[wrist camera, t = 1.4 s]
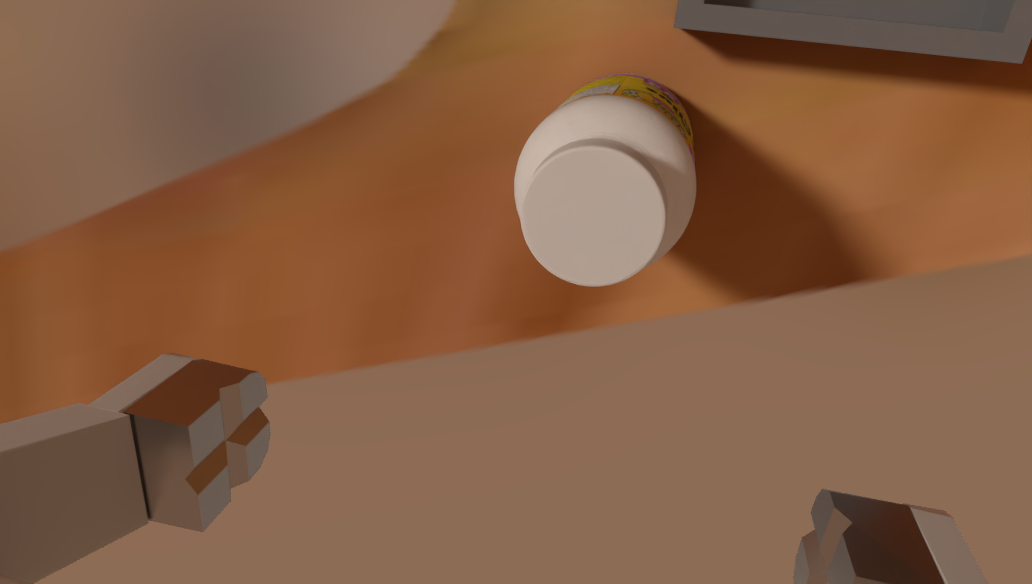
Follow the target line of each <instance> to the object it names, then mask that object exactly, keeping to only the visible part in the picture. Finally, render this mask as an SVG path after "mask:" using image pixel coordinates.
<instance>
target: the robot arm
mask: <svg viewBox="0 0 1032 584" xmlns="http://www.w3.org/2000/svg"><path fill="white" fill-rule="evenodd" d="M266 398H267V389H266V380H265V378H264V377H263V376H262V375H261V374H260V373H259V372H256V371H252V370H247V369H243V368H239V367H234V366H230V365H226V364H221V363H217V362H213V361H208V360H204V359H198V358H194V357H190V356H185V355H180V354H175V353H171V354H163V355H161V356H160V357H158V358H157V359H155V360H154V361H152V362H151V363H149V364H148V365H146V366H145V367H144V368H142V369H141V370H139V371H138V372H136V373H135V374H133V375H132V376H130V377H129V378H127V379H126V380H124V381H123V382H121V383H120V384H118V385H117V386H116V387H114V388H113V389H111V390H110V391H108V392H107V393H105V394H104V395H102V396H101V397H99V398H98V399H96V400H95V401H93V402H92V403H90V404H89V405H83V404H79V403H78V404H74V405H71V406H67V407H63V408H59V409H56V410H52V411H48V412H44V413H41V414H37V415H33V416H29V417H26V418H22V419H18V420H15V421H11V422H7V423H3V424H0V584H33V583H35V582H37V581H39V580H41V579H43V578H45V577H46V576H48V575H50V574H52V573H54V572H56V571H58V570H60V569H62V568H64V567H66V566H67V565H69V564H71V563H73V562H75V561H77V560H79V559H81V558H83V557H85V556H87V555H88V554H91V553H92V552H94V551H96V550H98V549H100V548H102V547H104V546H106V545H108V544H110V543H112V542H114V541H116V540H117V539H119V538H121V537H123V536H125V535H127V534H129V533H131V532H133V531H135V530H137V529H138V528H140V527H142V526H144V525H146V524H148V523H149V522H148V520H150V521H154V522H160V523H164V524H168V525H173V526H177V527H182V528H187V529H191V530H196V531H200V532H203V531H204V530H205V529H206V528H207V527H208V526H209V525H210V524H211V523H212V521H213V520H214V519H215V518H216V517H217V516H218V515H219V514H220V513H221V511H222V510H223V509H224V508H225V507H226V506H227V505H228V504H229V502H230V501H231V488H233V487H235V486H238V485H240V484H242V483H245V482H247V481H249V480H250V479H251V478H252V476H253V475H254V474H255V473H256V472H257V470H259V468H260V467H261V464H262V462H263V460H264V458H265V455H266V453H267V451H268V446H269V440H270V423H269V420H268V419H267V417H266V416H265V415H264V413H263V412H262V410H261V409H260V408H259V407H260V406H261V404H262V403H263V402H264V401H265V400H266ZM811 515H812V519H813V523H814V527H815V530H813V531H812V532H810V533H809V534H807V535H806V536H804V537H802V539H801V542H800V545H799V549H798V552H797V555H796V561H795V569H794V577H793V578H794V584H988V582H987V580H986V579H985V577H984V575H983V573H982V571H981V569H980V567H979V565H978V564H977V562H976V560H975V558H974V556H973V554H972V552H971V551H970V549H969V547H968V545H967V543H966V542H965V539H964V538H963V536H962V534H961V532H960V530H959V529H958V526H957V525H956V523H955V521H954V519H953V518H952V516H951V515H949V514H948V513H947V512H945V511H943V510H937V509H931V508H926V507H920V506H914V505H909V504H898V503H893V502H887V501H882V500H877V499H872V498H867V497H862V496H856V495H852V494H847V493H841V492H836V491H831V490H826V489H822V490H821V491H820V492H819V494H818V495H817V497H816V499H815V502H814V504H813V507H812V510H811Z"/></svg>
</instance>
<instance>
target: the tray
mask: <svg viewBox="0 0 1032 584" xmlns="http://www.w3.org/2000/svg"><path fill="white" fill-rule="evenodd" d="M674 28H681V29H691V30H700V31H710V32H720V33H729V34H739V35H749V36H758V37H768V38H778V39H787V40H797V41H806V42H816V43H826V44H835V45H845V46H855V47H864V48H874V49H884V50H893V51H903V52H912V53H922V54H932V55H941V56H951V57H961V58H970V59H980V60H990V61H999V62H1009V63H1019V64H1022V62H1023V60H1024V57H1025V55H1026V52H1027V49H1028V47H1029V44H1030V42H1031V39H1032V0H679V1H678V6H677V12H676V18H675V24H674Z"/></svg>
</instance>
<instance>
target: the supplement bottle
mask: <svg viewBox="0 0 1032 584" xmlns="http://www.w3.org/2000/svg"><path fill="white" fill-rule="evenodd" d="M514 192H515V202H516V207H517V211H518V214H519V217H520V220H521V227H522V231H523V234H524V238H525V241H526V243H527V245H528V247H529V249H530V250H531V252H532V254H533V255H534V256H535V258H536V259H537V260H538V261H539V263H540V264H542V265H543V266H544V267H545V268H546V269H547V270H548V271H549V272H551V273H552V274H554V275H555V276H557V277H559V278H561V279H563V280H565V281H568V282H571V283H574V284H577V285H583V286H607V285H612V284H616V283H619V282H621V281H624V280H626V279H628V278H630V277H632V276H634V275H635V274H637V273H638V272H639V271H641V270H642V269H643V268H645V267H647V266H649V265H651V264H652V263H654V262H656V261H657V260H659V259H660V258H661V257H662V256H664V255H665V254H666V253H667V252H668V251H669V250H670V249H671V248H672V247H673V246H674V245H675V244H676V243H677V241H678V240H679V239H680V237H681V236H682V234H683V233H684V231H685V229H686V227H687V225H688V223H689V221H690V218H691V216H692V212H693V209H694V204H695V199H696V172H695V154H694V141H693V132H692V128H691V124H690V120H689V118H688V115H687V113H686V111H685V109H684V107H683V106H682V104H681V103H680V101H679V100H678V99H677V98H676V96H675V95H674V94H673V93H672V92H671V91H670V90H668V89H667V88H666V87H664V86H663V85H662V84H660V83H658V82H656V81H654V80H652V79H650V78H647V77H644V76H640V75H635V74H613V75H608V76H605V77H602V78H598V79H596V80H594V81H592V82H590V83H588V84H586V85H584V86H583V87H581V88H580V89H579V90H577V91H576V92H575V93H574V94H573V95H571V96H570V97H569V98H568V99H567V100H566V101H565V102H564V103H563V104H562V105H560V106H559V107H558V108H557V109H556V110H555V111H554V112H552V113H551V114H550V115H549V116H548V117H547V118H546V119H545V120H544V121H543V122H542V123H541V124H540V125H539V126H538V127H537V128H536V129H535V130H534V132H533V133H532V134H531V136H530V137H529V139H528V140H527V142H526V144H525V146H524V148H523V150H522V152H521V155H520V157H519V160H518V164H517V168H516V174H515V180H514Z"/></svg>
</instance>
